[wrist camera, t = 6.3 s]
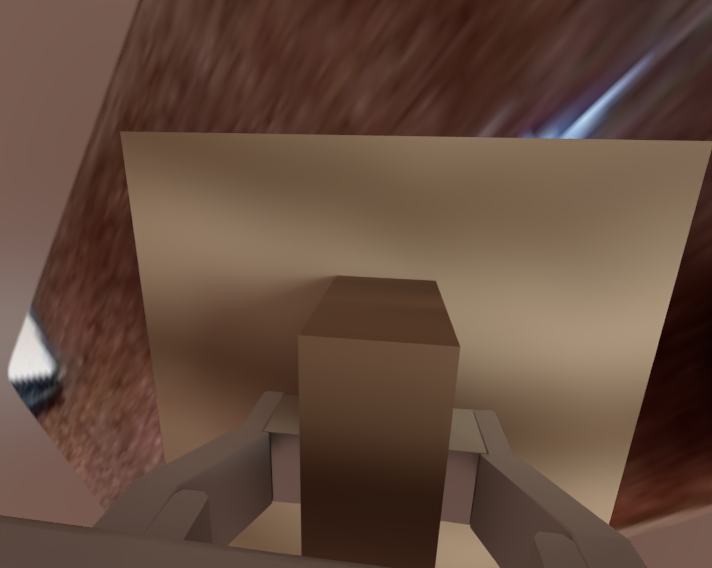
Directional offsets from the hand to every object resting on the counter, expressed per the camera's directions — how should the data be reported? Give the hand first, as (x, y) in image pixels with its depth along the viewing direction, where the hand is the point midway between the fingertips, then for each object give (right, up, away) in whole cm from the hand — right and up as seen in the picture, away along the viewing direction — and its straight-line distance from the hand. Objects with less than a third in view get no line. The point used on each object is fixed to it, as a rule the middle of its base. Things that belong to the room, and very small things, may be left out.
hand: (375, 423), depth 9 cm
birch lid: (0, +1, +3) cm, 3 cm away
